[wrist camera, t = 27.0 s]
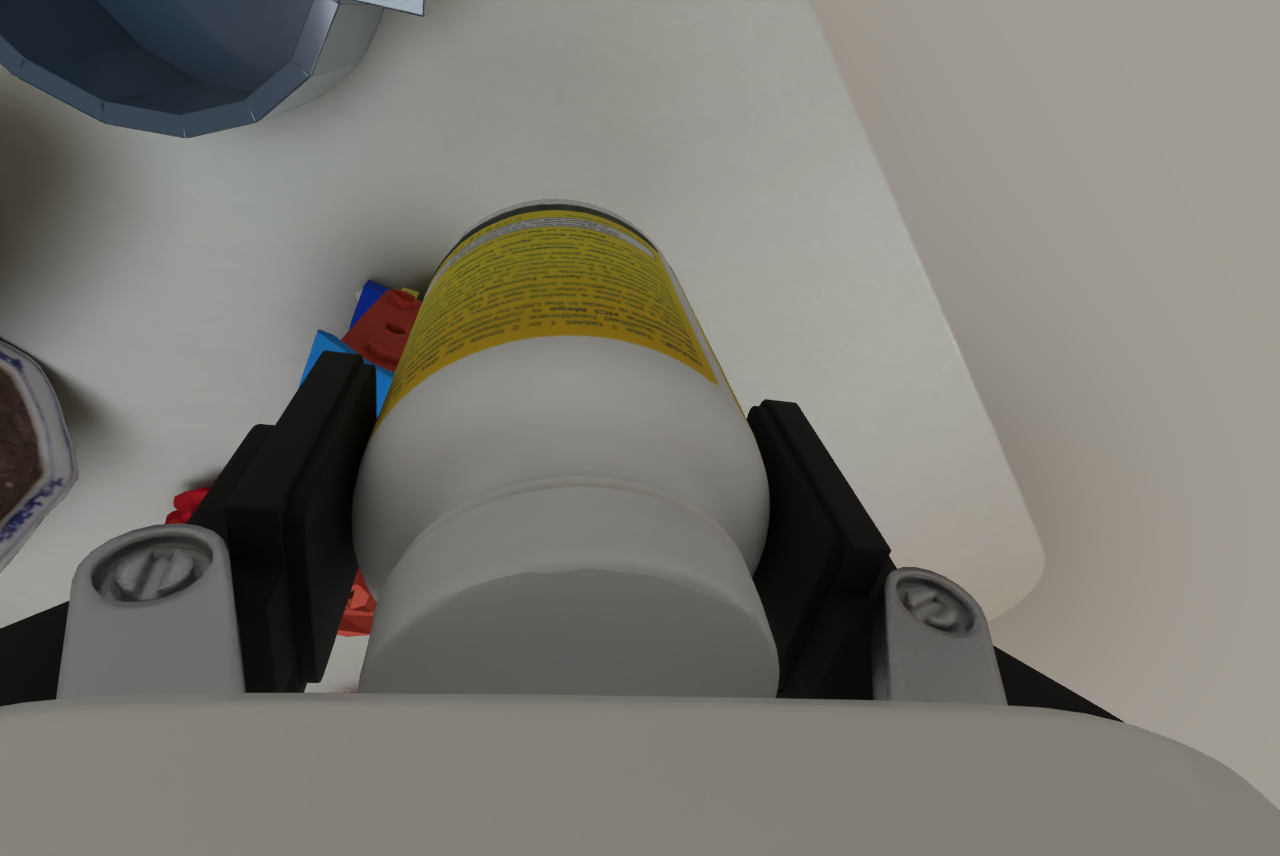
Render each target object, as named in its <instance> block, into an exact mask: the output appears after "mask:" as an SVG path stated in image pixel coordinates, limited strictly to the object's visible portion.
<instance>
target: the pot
mask: <svg viewBox="0 0 1280 856" xmlns="http://www.w3.org/2000/svg"><path fill="white" fill-rule="evenodd" d="M383 8H386V9H391V10H395V11H400V12H404V13H408V14H413V15H417V16H421V17H426V16H427V15H428V0H0V63H1V64H2V65H3V66H4V67H5V68H6V69H7V70H8V71H9V72H10V73H12V74H13V75H14V76H17V77H18V78H19V79H21V80H23V81H25V82H27V83H29V84H30V85H32V86H34V87H36V88H38V89H40V90H42V91H44V92H46V93H47V94H49V95H51V96H53V97H55V98H57V99H59V100H61V101H63V102H64V103H66V104H68V105H70V106H72V107H74V108H76V109H78V110H80V111H82V112H83V113H85V114H87V115H89V116H91V117H93V118H95V119H97V120H99V121H100V122H103V123H104V124H108V125H114V126H120V127H125V128H131V129H136V130H142V131H148V132H153V133H159V134H164V135H170V136H176V137H181V138H191V137H196V136H200V135H205V134H209V133H213V132H218V131H222V130H227V129H231V128H236V127H240V126H244V125H249V124H253V123H257V122H260V121H262V120H265V119H267V118H270V117H272V116H275V115H277V114H280V113H283V112H285V111H288V110H290V109H293V108H295V107H298V106H300V105H303V104H305V103H308V102H310V101H313V100H316V99H317V98H319V97H320V96H322V95H323V94H324V93H325V92H326V91H327V90H329V89H330V88H331V87H332V86H334V85H335V84H337V83H338V82H339V81H341V80H342V79H343V78H344V77H345V76H346V75H347V74H348V73H349V72H350V71H351V70H352V69H353V68H355V67H356V66H357V65H358V64H359V62H361V60H362V58H363V55H364V53H365V52H366V50H367V48H368V46H369V44H370V42H371V40H372V38H373V36H374V34H375V32H376V29H377V26H378V23H379V20H380V17H381V13H382V11H383Z"/></svg>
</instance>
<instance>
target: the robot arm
mask: <svg viewBox="0 0 1280 856" xmlns="http://www.w3.org/2000/svg"><path fill="white" fill-rule="evenodd" d="M376 420H377V389H376V367H375V365H373V364H364V359H363V356H362V354H353V353H344V352H335V351H326V350H324V351H323V352H322V353H321V355H320V356H319V358H318V359H317V361H316V362H315V364H314V366H313V367H312V369H311V370H310V372H309V373H308V375H307V377H306V378H305V380H304V381H303V383H302V384H301V386H300V388H299V389H298V391H297V392H296V394H295V395H294V397H293V398H292V400H291V402H290V403H289V405H288V406H287V408H286V409H285V411H284V413H283V414H282V416H281V417H280V419H279V420H278V422H277V424H276V425H264V424H258V425H255V426H254V427H253V428H252V429H251V430H250V432H249V433H248V434H247V436H246V437H245V439H244V440H243V442H242V443H241V445H240V446H239V447H238V449H237V450H236V452H235V453H234V455H233V456H232V458H231V459H230V460H229V462H228V463H227V465H226V466H225V468H224V469H223V471H222V472H221V474H220V475H219V476H218V478H217V479H216V481H215V482H214V484H213V485H212V487H211V488H210V489H209V491H208V492H207V494H206V495H205V497H204V498H203V500H202V501H201V502H200V504H199V505H198V507H197V508H196V510H195V511H194V513H193V514H192V516H191V517H190V518H189V520H188V521H187V523H186V524H179V523H175V524H162V525H153V526H149V527H145V528H141V529H136V530H132V531H130V532H127V533H125V534H122V535H120V536H118V537H115V538H113V539H110V540H109V541H107V542H106V543H104V544H102V545H101V546H99V547H98V548H96V549H95V550H93V551H92V552H91V553H90V554H89V555H88V556H87V557H86V558H85V559H84V560H83V561H82V562H81V563H80V564H79V565H78V567H77V570H76V572H75V575H74V577H73V580H72V586H71V593H70V601H68V602H65V603H63V604H60V605H58V606H55V607H53V608H50V609H48V610H45V611H43V612H40V613H38V614H35V615H33V616H30V617H28V618H25V619H23V620H21V621H18V622H16V623H13V624H11V625H8V626H6V627H3V628H1V629H0V856H1280V810H1278V809H1277V808H1276V807H1275V806H1274V805H1273V804H1272V803H1271V802H1270V801H1269V800H1268V799H1267V798H1266V797H1265V796H1264V795H1263V794H1261V793H1260V792H1259V791H1258V790H1257V789H1256V788H1254V787H1253V786H1252V785H1251V784H1250V783H1248V782H1247V781H1246V780H1245V779H1244V778H1242V777H1241V776H1240V775H1239V774H1237V773H1236V772H1234V771H1233V770H1232V769H1230V768H1228V767H1227V766H1225V765H1224V764H1222V763H1221V762H1219V761H1217V760H1215V759H1213V758H1211V757H1209V756H1207V755H1205V754H1204V753H1202V752H1199V751H1197V750H1196V749H1193V748H1191V747H1189V746H1187V745H1185V744H1182V743H1180V742H1178V741H1176V740H1173V739H1170V738H1167V737H1165V736H1161V735H1159V734H1156V733H1153V732H1150V731H1147V730H1145V729H1142V728H1139V727H1136V726H1134V725H1130V724H1127V723H1124V722H1123V721H1122V720H1120V719H1118V718H1117V717H1115V716H1113V715H1112V714H1110V713H1109V712H1107V711H1105V710H1103V709H1102V708H1100V707H1098V706H1097V705H1095V704H1093V703H1091V702H1090V701H1088V700H1086V699H1085V698H1083V697H1081V696H1080V695H1078V694H1076V693H1074V692H1072V691H1071V690H1069V689H1067V688H1066V687H1064V686H1062V685H1061V684H1059V683H1057V682H1055V681H1054V680H1052V679H1050V678H1048V677H1047V676H1045V675H1043V674H1042V673H1040V672H1038V671H1036V670H1035V669H1033V668H1031V667H1029V666H1028V665H1026V664H1024V663H1023V662H1021V661H1019V660H1017V659H1016V658H1014V657H1012V656H1010V655H1009V654H1007V653H1005V652H1003V651H1002V650H1000V649H998V648H997V647H995V646H993V644H992V640H991V636H990V632H989V628H988V624H987V620H986V617H985V615H984V613H983V611H982V608H981V607H980V606H979V604H978V603H977V602H976V601H975V599H974V598H973V597H972V596H971V595H970V594H969V593H968V592H966V591H965V590H964V589H963V588H962V587H961V586H959V585H958V584H956V583H954V582H953V581H951V580H949V579H948V578H946V577H944V576H942V575H939V574H937V573H935V572H932V571H930V570H925V569H921V568H917V567H902V568H899V569H897V568H896V566H895V565H894V563H893V562H892V560H891V558H890V557H889V554H890V552H891V549H890V547H889V546H888V544H887V543H886V541H885V540H884V538H883V537H882V535H881V533H880V532H879V530H878V529H877V527H876V526H875V524H874V523H873V521H872V519H871V518H870V516H869V515H868V513H867V512H866V510H865V509H864V507H863V505H862V504H861V502H860V501H859V499H858V498H857V496H856V495H855V493H854V491H853V490H852V488H851V487H850V485H849V484H848V482H847V481H846V479H845V477H844V476H843V474H842V473H841V471H840V470H839V468H838V467H837V465H836V463H835V462H834V460H833V459H832V457H831V456H830V454H829V453H828V451H827V450H826V448H825V446H824V445H823V443H822V442H821V440H820V439H819V437H818V436H817V434H816V432H815V431H814V429H813V428H812V426H811V425H810V423H809V422H808V420H807V418H806V417H805V415H804V414H803V412H802V411H801V409H800V408H799V406H798V405H797V404H796V403H793V402H784V401H775V400H766V399H765V400H764V401H762V403H761V404H760V406H753V407H752V408H751V409H750V411H749V414H748V417H747V422H748V424H749V426H750V428H751V430H752V432H753V434H754V437H755V440H756V443H757V446H758V448H759V451H760V454H761V457H762V460H763V464H764V467H765V470H766V475H767V480H768V487H769V496H770V517H769V526H768V533H767V538H766V544H765V547H764V550H763V553H762V556H761V558H760V561H759V564H758V567H757V569H756V571H755V573H754V575H753V577H752V580H753V582H754V585H755V587H756V590H757V592H758V595H759V597H760V600H761V602H762V605H763V608H764V611H765V614H766V617H767V621H768V624H769V627H770V630H771V633H772V636H773V639H774V642H775V645H776V648H777V654H778V662H779V682H778V689H777V694H776V698H732V697H666V696H595V695H519V694H403V693H304V691H305V688H306V685H307V683H319V682H320V681H321V680H322V678H323V675H324V672H325V669H326V666H327V663H328V660H329V657H330V654H331V651H332V648H333V645H334V642H335V639H336V636H337V633H338V630H339V626H340V623H341V620H342V617H343V614H344V611H345V608H346V605H347V602H348V599H349V596H350V593H351V590H352V587H353V584H354V581H355V578H356V574H357V571H358V568H359V564H358V562H357V559H356V554H355V550H354V545H353V536H352V501H353V493H354V489H355V484H356V480H357V475H358V470H359V466H360V463H361V460H362V458H363V455H364V452H365V449H366V446H367V444H368V441H369V438H370V436H371V433H372V431H373V428H374V426H375V423H376Z"/></svg>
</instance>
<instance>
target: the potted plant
mask: <svg viewBox="0 0 1280 856" xmlns="http://www.w3.org/2000/svg"><path fill="white" fill-rule="evenodd" d="M77 480H78V467H77V460H76V452H75V447H74V444H73V442H72V439H71V436H70V434H69V432H68V429H67V427H66V423H65V420H64V416H63V412H62V408H61V405H60V403H59V401H58V398H57V396H56V393H55V391H54V389H53V387H52V385H51V383H50V381H49V379H48V378H47V376H46V375H45V373H44V371H43V370H42V368H41V367H40V365H39V364H38V363H37V362H35V361H34V360H33V359H32V358H31V357H30V356H28V355H26V354H25V353H23V352H21V351H20V350H18V349H16V348H15V347H13V346H11V345H9V344H7V343H5V342H3V341H1V340H0V573H1V572H2V571H3V569H4V568H5V567H6V566H7V565H8V564H9V563H10V562H11V560H12V559H13V558H14V557H15V555H16V554H17V553H18V551H19V550H20V549H21V548H22V546H23V545H24V544H25V543H26V541H27V540H28V539H29V538H30V536H31V535H32V534H33V533H34V531H35V530H36V528H37V527H38V526H39V524H40V523H41V522H42V520H43V519H44V517H45V516H46V515H47V514H48V513H49V512H50V511H51V510H52V509H53V508H54V507H55V506H57V505H58V504H59V503H60V502H61V501H62V500H63V499H64V497H65V496H66V495H67V493H68V492H69V490H70V489H71V487H72V486H73V485H74V483H75V482H76V481H77Z"/></svg>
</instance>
